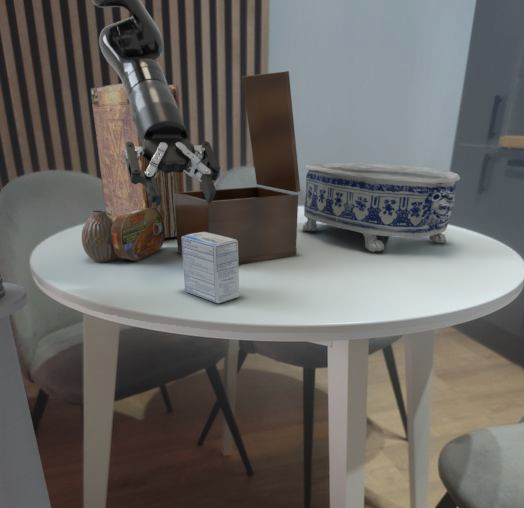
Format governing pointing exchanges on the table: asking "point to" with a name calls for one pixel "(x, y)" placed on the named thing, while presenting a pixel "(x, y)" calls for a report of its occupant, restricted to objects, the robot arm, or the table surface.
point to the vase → (98, 237)
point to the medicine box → (211, 266)
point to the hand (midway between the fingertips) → (185, 200)
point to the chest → (242, 220)
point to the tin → (138, 234)
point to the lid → (272, 130)
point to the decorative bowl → (380, 200)
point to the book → (114, 164)
